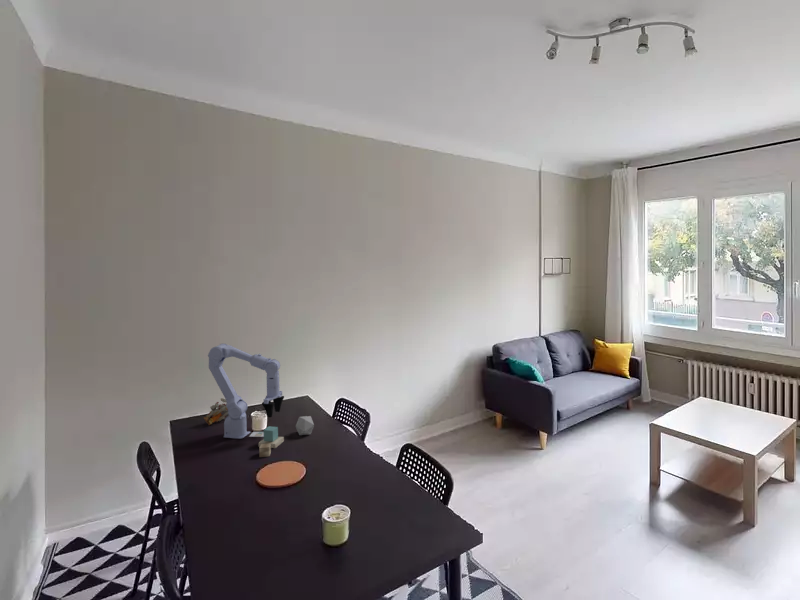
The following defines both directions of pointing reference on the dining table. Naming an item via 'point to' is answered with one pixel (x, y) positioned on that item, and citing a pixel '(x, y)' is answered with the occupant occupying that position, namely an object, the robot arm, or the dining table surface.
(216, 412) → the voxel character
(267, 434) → the teal cube
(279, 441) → the birch slab
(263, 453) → the block
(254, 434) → the blueprint card
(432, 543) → the dining table surface
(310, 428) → the die
